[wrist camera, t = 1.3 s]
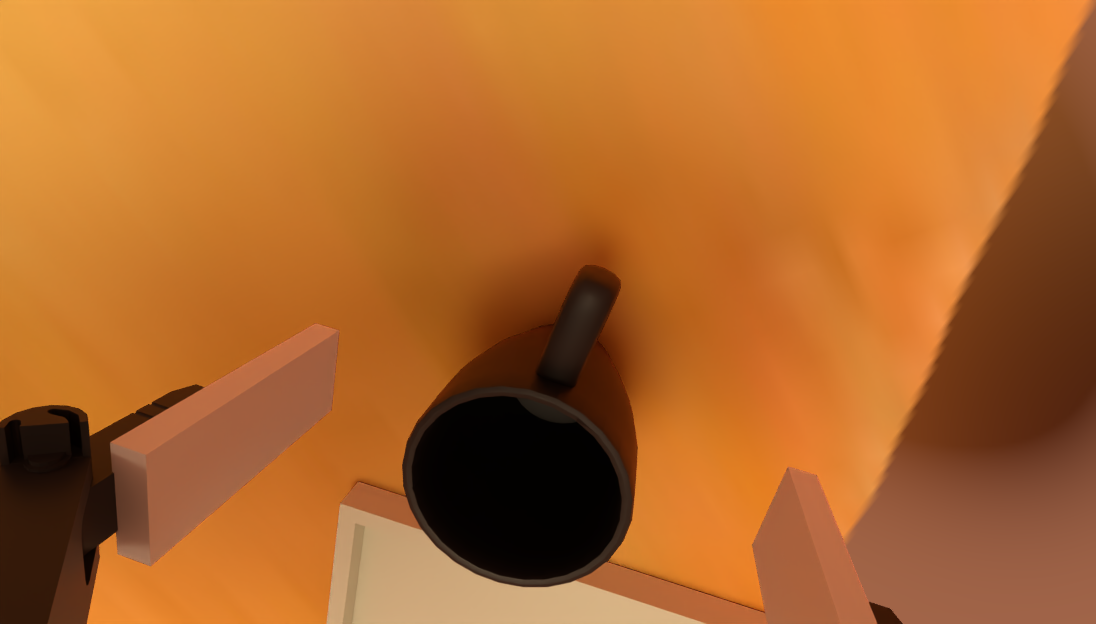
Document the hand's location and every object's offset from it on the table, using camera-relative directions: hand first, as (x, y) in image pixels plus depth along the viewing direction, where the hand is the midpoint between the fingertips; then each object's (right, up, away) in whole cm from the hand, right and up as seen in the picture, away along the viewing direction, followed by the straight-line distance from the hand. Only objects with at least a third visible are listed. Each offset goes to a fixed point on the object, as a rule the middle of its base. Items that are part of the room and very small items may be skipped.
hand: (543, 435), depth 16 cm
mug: (+1, +2, +12) cm, 12 cm away
